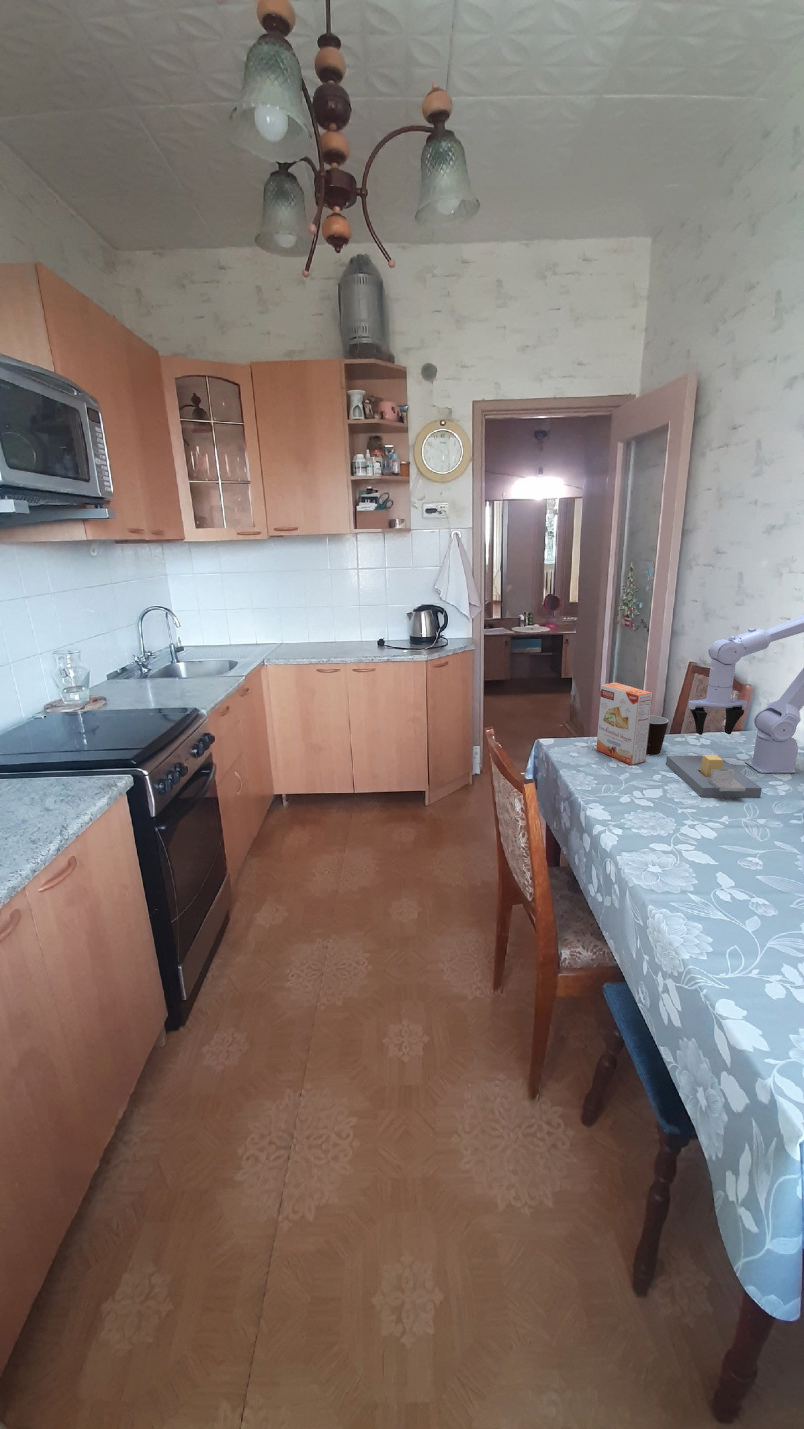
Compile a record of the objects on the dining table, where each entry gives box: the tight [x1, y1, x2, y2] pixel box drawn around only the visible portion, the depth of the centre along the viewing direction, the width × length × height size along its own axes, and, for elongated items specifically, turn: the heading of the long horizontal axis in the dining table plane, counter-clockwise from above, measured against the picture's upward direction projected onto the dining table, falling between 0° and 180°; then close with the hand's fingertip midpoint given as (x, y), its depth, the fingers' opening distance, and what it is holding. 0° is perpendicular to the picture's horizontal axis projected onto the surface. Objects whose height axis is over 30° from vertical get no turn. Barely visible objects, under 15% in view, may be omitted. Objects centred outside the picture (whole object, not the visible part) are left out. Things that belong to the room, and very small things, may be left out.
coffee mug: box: [646, 714, 669, 756], centre depth 170 cm, size 12×9×10 cm
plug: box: [700, 754, 724, 777], centre depth 147 cm, size 4×4×7 cm
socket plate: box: [665, 755, 763, 798], centre depth 149 cm, size 14×22×2 cm, turn 177°
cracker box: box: [595, 681, 654, 766], centre depth 164 cm, size 14×6×21 cm, turn 25°
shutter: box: [708, 769, 746, 791], centre depth 139 cm, size 6×6×3 cm
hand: (713, 733), depth 155 cm, fingers open, 7 cm apart
